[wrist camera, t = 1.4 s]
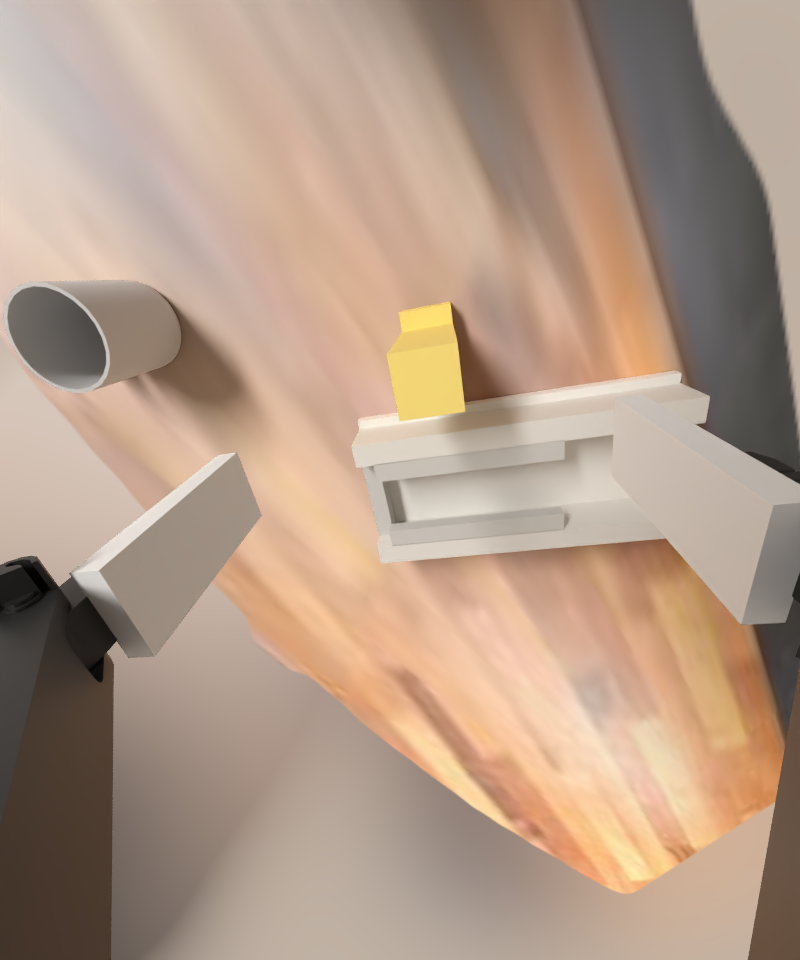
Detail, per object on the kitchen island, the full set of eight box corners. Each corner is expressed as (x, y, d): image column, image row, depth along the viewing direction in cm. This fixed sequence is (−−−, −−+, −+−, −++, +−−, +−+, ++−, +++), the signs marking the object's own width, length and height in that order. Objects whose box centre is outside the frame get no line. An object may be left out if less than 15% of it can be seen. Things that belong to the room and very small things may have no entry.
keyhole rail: (359, 418, 37) (348, 437, 32) (675, 370, 32) (711, 385, 28) (388, 539, 43) (382, 569, 39) (656, 513, 39) (684, 544, 34)
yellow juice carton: (401, 311, 32) (381, 328, 22) (449, 301, 32) (454, 315, 21) (414, 392, 35) (403, 442, 25) (459, 384, 35) (467, 433, 24)
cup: (200, 352, 35) (131, 375, 27) (114, 386, 38) (27, 416, 30) (153, 266, 32) (60, 264, 25) (62, 308, 35) (-48, 319, 27)
